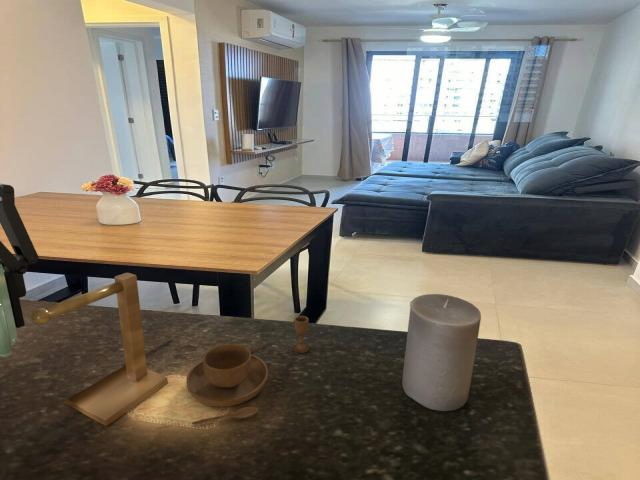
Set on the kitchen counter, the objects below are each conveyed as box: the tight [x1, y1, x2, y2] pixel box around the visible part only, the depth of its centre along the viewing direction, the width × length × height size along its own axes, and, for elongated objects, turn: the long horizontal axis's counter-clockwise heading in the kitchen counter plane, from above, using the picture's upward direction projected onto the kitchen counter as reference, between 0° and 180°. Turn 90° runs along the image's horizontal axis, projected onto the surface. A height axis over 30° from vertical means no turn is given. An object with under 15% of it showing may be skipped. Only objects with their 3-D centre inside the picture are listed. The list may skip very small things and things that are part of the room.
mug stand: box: [30, 272, 169, 427], centre depth 52 cm, size 12×14×17 cm
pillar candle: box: [401, 293, 482, 412], centre depth 56 cm, size 10×10×15 cm
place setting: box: [185, 315, 310, 425], centre depth 58 cm, size 18×20×6 cm
